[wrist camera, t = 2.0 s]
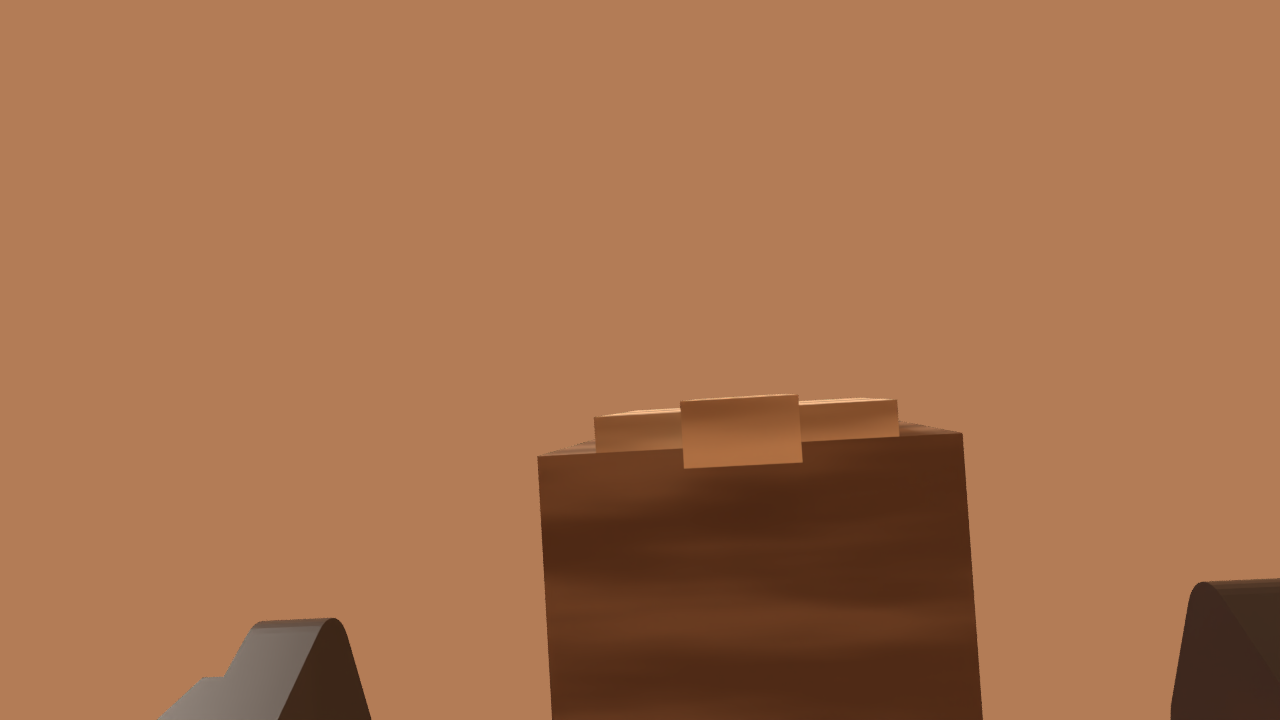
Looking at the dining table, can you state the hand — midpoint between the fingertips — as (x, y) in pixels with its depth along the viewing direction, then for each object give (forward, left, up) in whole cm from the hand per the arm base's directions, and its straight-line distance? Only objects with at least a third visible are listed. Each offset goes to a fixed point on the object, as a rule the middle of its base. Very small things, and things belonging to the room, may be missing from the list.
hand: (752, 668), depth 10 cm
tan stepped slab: (-11, +24, +1) cm, 26 cm away
